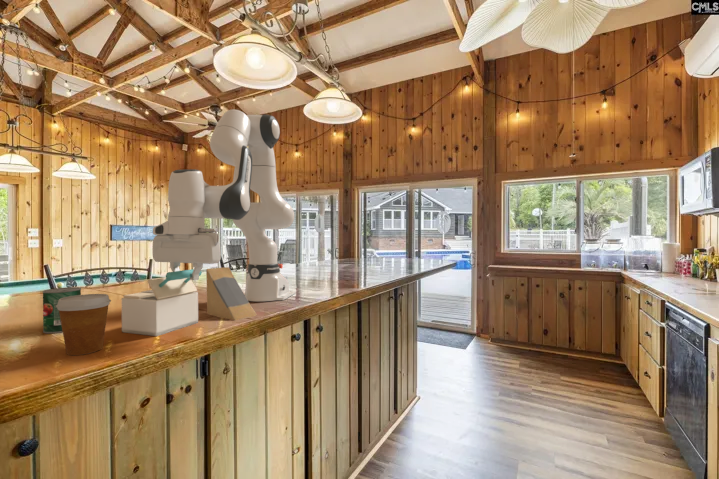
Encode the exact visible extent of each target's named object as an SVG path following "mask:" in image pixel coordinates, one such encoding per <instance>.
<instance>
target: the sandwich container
mask: <svg viewBox="0 0 719 479" xmlns="http://www.w3.org/2000/svg"><path fill="white" fill-rule="evenodd" d="M205 273H206V275H205V276H206V315H210V316H212V317H217V318H222V319H225V320H232V321H240V320H243V319H244V320H245V319H248V318H253V317H256V315H257V313H256V311H255V309H254V308H253V307H252V305H251V303H250V301H248V300H247V298H246V297H245V292H244V291H243V289H242V288H241V286H240V285H239V283H238V281H237V279H236V278H235V276H234V274H233V273H232V270H231V269H230V267H229V266H227V267H213V268H212V267H211V268H207V269H206V272H205Z"/></svg>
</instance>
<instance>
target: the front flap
mask: <svg viewBox="0 0 719 479" xmlns="http://www.w3.org/2000/svg"><path fill="white" fill-rule="evenodd" d="M193 270H194V268H193V269H192V268H191V269H185V270H180V271H175V272H173V271H169V272H167V273H166V274H165V277H164V278H163V277H161V278H154V279H149V280H147V284H148V285H149V287H150V290H152V291H153V293H154V295H155V296H156V298H157V300H159V299H164V298H168V297H173V296H178V295H183V294H187V293H192V292H198V288H197V287H196V285H195V284H194V282H193V280H190V274H192V273H193ZM201 276H202V270H201V271H200V273H199V277H201Z"/></svg>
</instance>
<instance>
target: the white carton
mask: <svg viewBox="0 0 719 479" xmlns="http://www.w3.org/2000/svg"><path fill="white" fill-rule="evenodd" d="M198 323H199V292H198V291H196V292H192V293H187V294H183V295H178V296H173V297H168V298H164V299H159V300H157V298H156V296H152V297H146V298H141V299H134V298H123V297H122V298H121V333H126V334H127V333H128V334H133V335H134V334H135V335H143V336H150V337H151V336H153V337H159V336H162V335H165V334H168V333H171V332H174V331H177V330H180V329H184V328H186V327H189V326H192V325H195V324H198Z"/></svg>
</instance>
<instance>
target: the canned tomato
mask: <svg viewBox="0 0 719 479" xmlns="http://www.w3.org/2000/svg"><path fill="white" fill-rule="evenodd" d="M81 290H82V287H78V286H75V287H72V286H70V287H69V286H68V287H57V288H50V289H44V290H42V333H44V334H60V333H62V334H63V331H62V325H61V320H60V314H59V310H58V309H57V307H56V305H57V304H58V301H59V299H61V298H64V297H69V296H76V295H82V293H81Z"/></svg>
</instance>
